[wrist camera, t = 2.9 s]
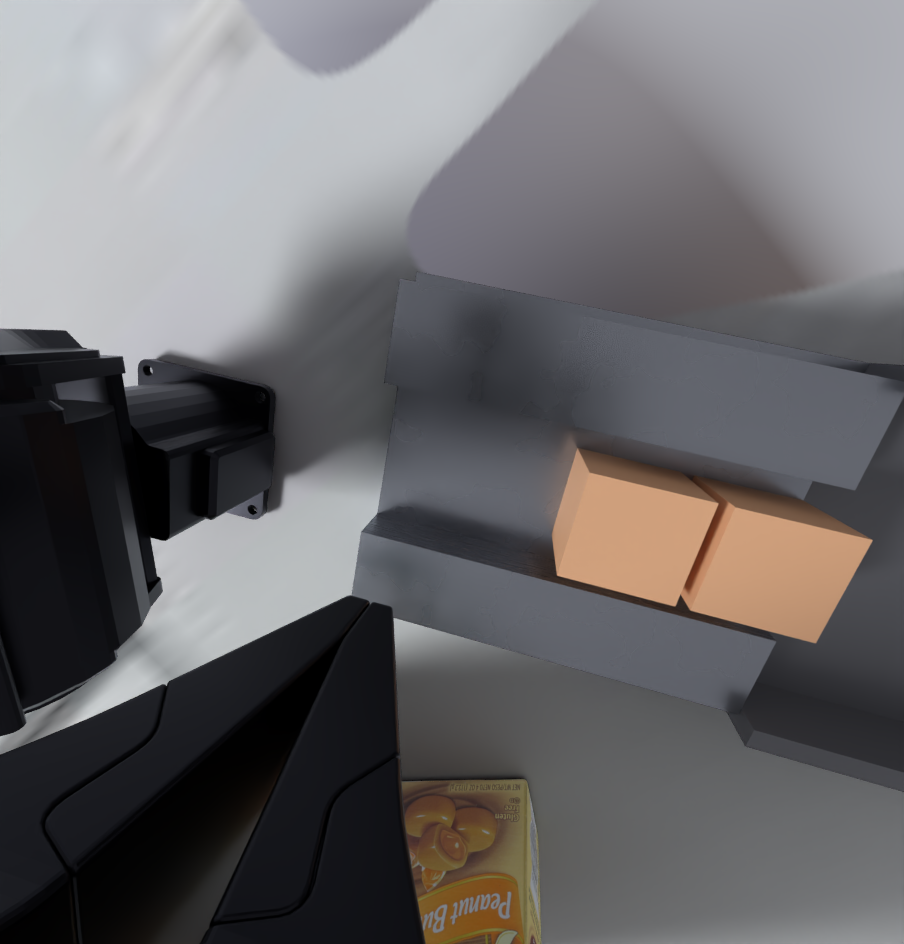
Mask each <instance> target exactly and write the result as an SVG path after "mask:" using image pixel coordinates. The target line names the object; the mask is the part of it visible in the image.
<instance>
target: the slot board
mask: <svg viewBox="0 0 904 944" xmlns="http://www.w3.org/2000/svg"><path fill="white" fill-rule="evenodd" d="M869 364H870V363H865V362H860V361H856V360H851V359H846V358H841V357H836V356H831V355H826V354H821V353H816V352H811V351H806V350H801V349H796V348H791V347H786V346H781V345H777V344H772V343H767V342H762V341H757V340H752V339H747V338H742V337H737V336H732V335H727V334H722V333H717V332H712V331H707V330H702V329H698V328H693V327H688V326H683V325H678V324H673V323H668V322H663V321H658V320H653V319H648V318H643V317H638V316H633V315H628V314H623V313H618V312H614V311H608V310H603V309H599V308H594V307H589V306H584V305H579V304H574V303H569V302H564V301H559V300H554V299H549V298H544V297H539V296H534V295H530V294H525V293H520V292H515V291H510V290H505V289H499V288H495V287H490V286H485V285H480V284H475V283H470V282H465V281H460V280H455V279H451V278H445V277H441V276H435V275H431V274H426V273H421V272H417V273H416V279H415V281H410V280H405V279H400V282H399V288H398V295H397V301H396V308H395V314H394V321H393V328H392V334H391V341H390V347H389V354H388V360H387V367H386V373H385V380H384V383H388V384H392V385H397V386H398V390H397V396H396V402H395V408H394V415H393V421H392V427H391V433H390V439H389V445H388V451H387V458H386V464H385V470H384V476H383V482H382V488H381V494H380V501H379V507H378V513H377V515H376V516H375V517H374V518H373V519H372V520H371V521H370V523H369V524H368V525H367V526H366V527H365V528H364V529H363V531H362V532H361V537H360V544H359V550H358V557H357V563H356V570H355V577H354V583H353V590H352V596H355V597H359V598H362V599H366V600H368V601H369V602H370V603H372V602H377V603H380V604H384V605H388V606H391V607H392V609H393V618H397V619H400V620H404V621H407V622H411V623H414V624H418V625H422V626H425V627H429V628H432V629H436V630H439V631H443V632H447V633H450V634H454V635H457V636H461V637H464V638H468V639H471V640H475V641H479V642H482V643H486V644H489V645H493V646H496V647H500V648H503V649H507V650H511V651H514V652H518V653H521V654H525V655H528V656H532V657H535V658H539V659H543V660H546V661H550V662H553V663H557V664H560V665H564V666H567V667H571V668H575V669H578V670H582V671H585V672H589V673H592V674H596V675H599V676H603V677H607V678H610V679H614V680H617V681H621V682H624V683H628V684H631V685H635V686H639V687H642V688H646V689H649V690H653V691H656V692H660V693H663V694H667V695H671V696H674V697H678V698H681V699H685V700H688V701H692V702H695V703H699V704H703V705H706V706H710V707H713V708H717V709H720V710H724V711H728V712H731V713H735V714H739V713H740V711H741V709H742V707H743V705H744V703H745V701H746V699H747V697H748V695H749V693H750V691H751V689H752V688H753V686H754V684H755V682H756V680H757V678H758V676H759V674H760V672H761V670H762V668H763V666H764V665H765V663H766V661H767V659H768V657H769V655H770V653H771V651H772V649H773V647H774V645H775V643H776V640H775V639H774V638H773V637H772V635H771V634H770V633H769V632H768V631H766V630H762V629H759V628H755V627H751V626H747V625H743V624H740V623H736V622H732V621H728V620H724V619H721V618H717V617H713V616H709V615H705V614H701V613H698V612H694V611H690V609H689V607H688V606H687V604H686V603H685V601H684V599H683V598H682V596H681V594H680V597H679V599H678V601H677V604H676V606H671V605H667V604H663V603H659V602H656V601H652V600H648V599H644V598H640V597H637V596H633V595H629V594H625V593H621V592H618V591H614V590H610V589H606V588H602V587H598V586H595V585H591V584H587V583H583V582H579V581H576V580H572V579H568V578H564V577H560V576H557V571H556V564H555V556H554V549H553V541H552V531H553V528H554V524H555V521H556V518H557V514H558V511H559V508H560V504H561V501H562V498H563V494H564V491H565V488H566V484H567V481H568V478H569V474H570V471H571V468H572V464H573V461H574V458H575V454H576V451H577V448H580V449H584V450H589V451H593V452H597V453H602V454H606V455H610V456H614V457H619V458H623V459H627V460H632V461H636V462H640V463H644V464H649V465H653V466H657V467H662V468H666V469H670V470H674V471H679V472H682V473H683V474H684V475H685V476H686V477H688V478H689V479H690V480H691V481H692V480H693V477H694V475H696V476H700V477H704V478H709V479H713V480H717V481H722V482H726V483H730V484H734V485H739V486H743V487H747V488H752V489H756V490H760V491H764V492H769V493H773V494H777V495H781V496H786V497H790V498H794V499H799V500H804V498H805V496H806V494H807V492H808V490H809V488H810V486H811V484H812V481H816V482H820V483H825V484H829V485H833V486H838V487H842V488H846V489H851V490H856V488H857V486H858V484H859V482H860V480H861V478H862V476H863V474H864V472H865V470H866V468H867V467H868V465H869V463H870V461H871V459H872V457H873V455H874V453H875V451H876V449H877V447H878V445H879V443H880V442H881V440H882V438H883V436H884V434H885V432H886V430H887V428H888V426H889V424H890V422H891V420H892V419H893V417H894V415H895V413H896V411H897V409H898V407H899V405H900V403H901V401H902V399H903V397H904V382H903V381H898V380H894V379H889V378H884V377H879V376H874V375H869V374H865V372H866V370H867V368H868V366H869Z"/></svg>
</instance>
